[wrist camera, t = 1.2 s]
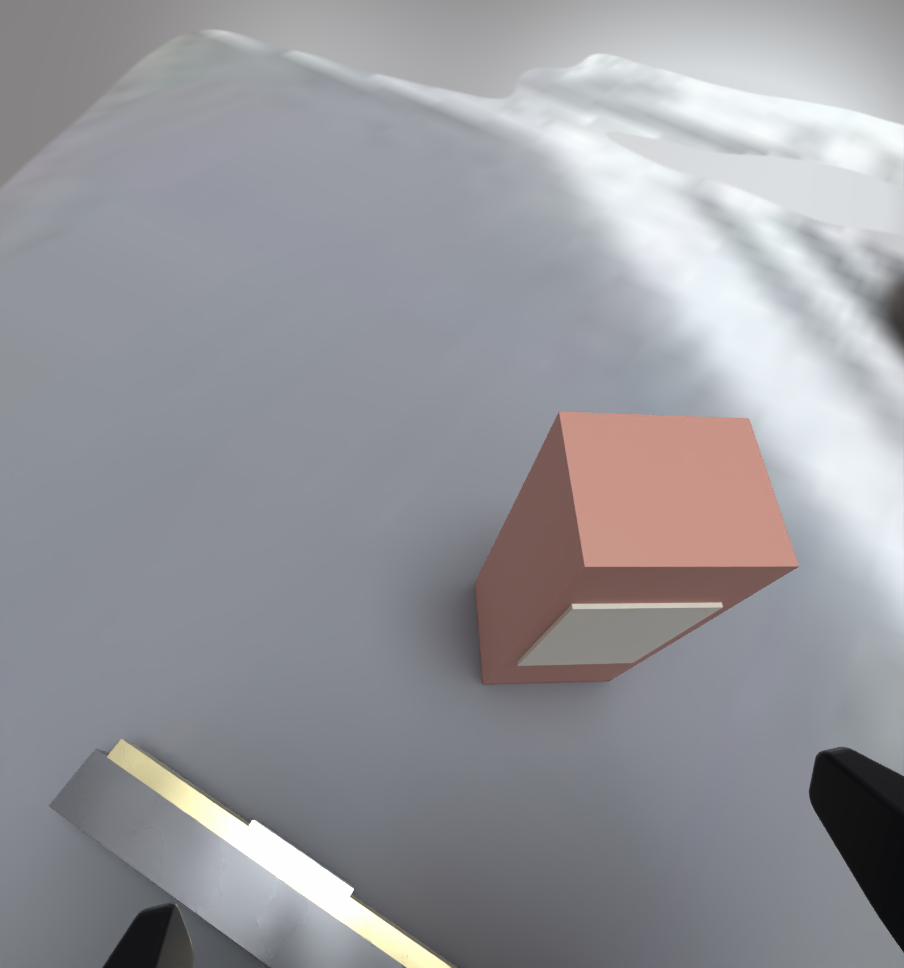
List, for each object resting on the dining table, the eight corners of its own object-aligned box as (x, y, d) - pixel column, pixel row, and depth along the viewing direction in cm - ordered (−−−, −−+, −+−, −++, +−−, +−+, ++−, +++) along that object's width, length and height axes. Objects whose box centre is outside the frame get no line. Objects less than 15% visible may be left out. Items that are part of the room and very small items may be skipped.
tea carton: (610, 684, 25) (801, 571, 14) (482, 688, 24) (585, 572, 13) (592, 582, 26) (748, 418, 16) (474, 583, 26) (559, 411, 15)
